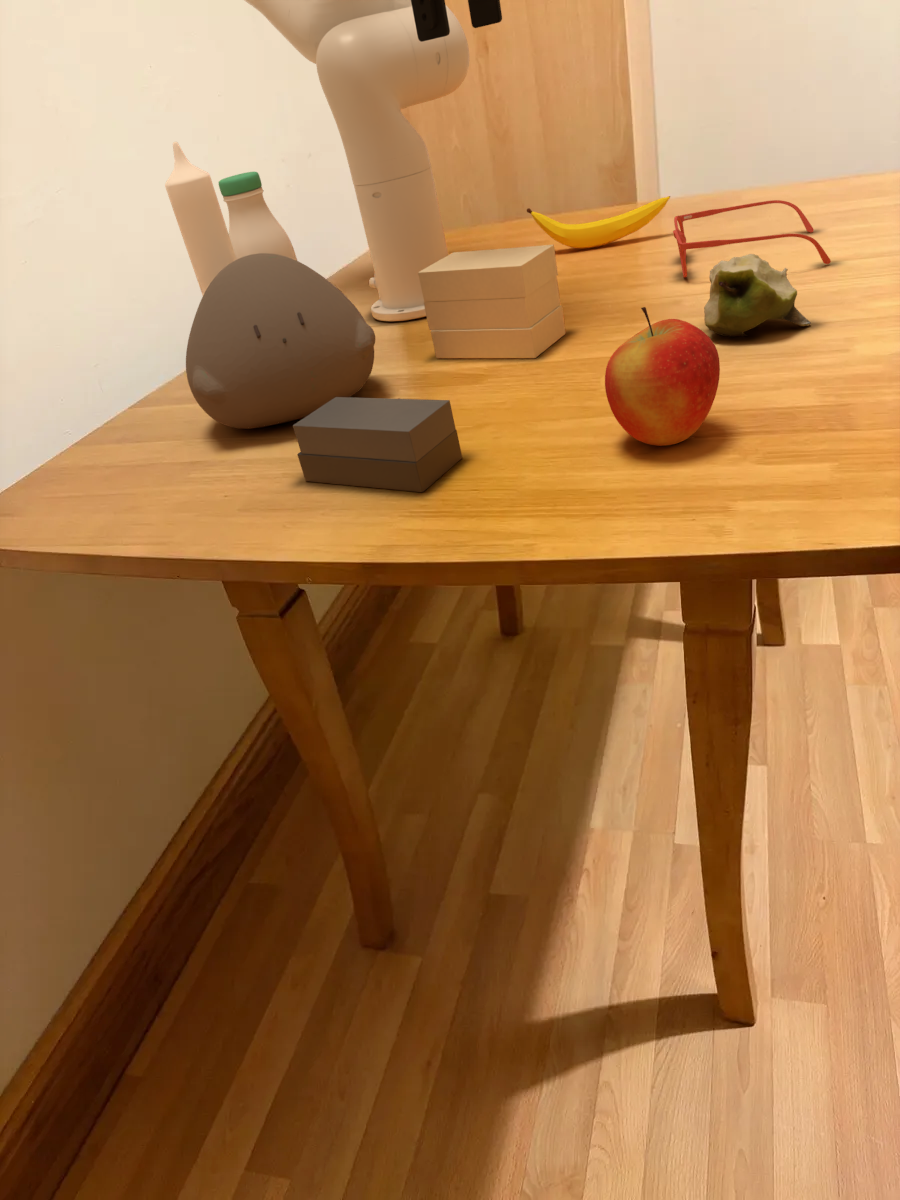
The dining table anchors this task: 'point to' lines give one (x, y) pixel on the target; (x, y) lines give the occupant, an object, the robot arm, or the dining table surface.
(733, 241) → the red eyeglasses
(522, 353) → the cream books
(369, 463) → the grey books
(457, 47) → the robot arm
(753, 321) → the fruit
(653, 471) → the dining table surface
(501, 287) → the cream rectangular block
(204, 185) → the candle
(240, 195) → the milk bottle
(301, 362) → the decorative object
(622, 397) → the apple
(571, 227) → the banana
